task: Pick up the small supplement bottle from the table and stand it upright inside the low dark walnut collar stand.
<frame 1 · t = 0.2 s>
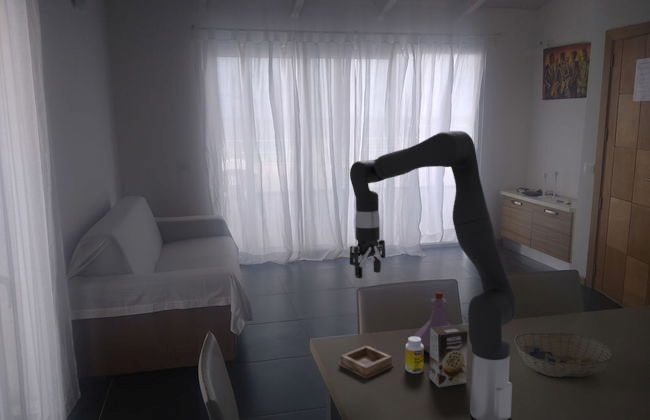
hand: (368, 275, 161), 28 cm above the table, tool pointing down, fingers open, 8 cm apart
coffee box: (447, 381, 151), on the table
flask: (438, 350, 172), on the table
supplement bottle: (414, 370, 158), on the table
walnut collar stand: (366, 365, 161), on the table
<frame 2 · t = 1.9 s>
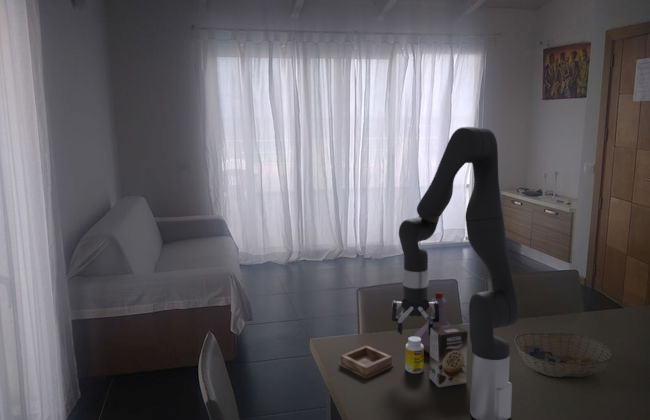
hand: (414, 333, 156), 12 cm above the table, tool pointing down, fingers open, 8 cm apart
nothing on the table moved.
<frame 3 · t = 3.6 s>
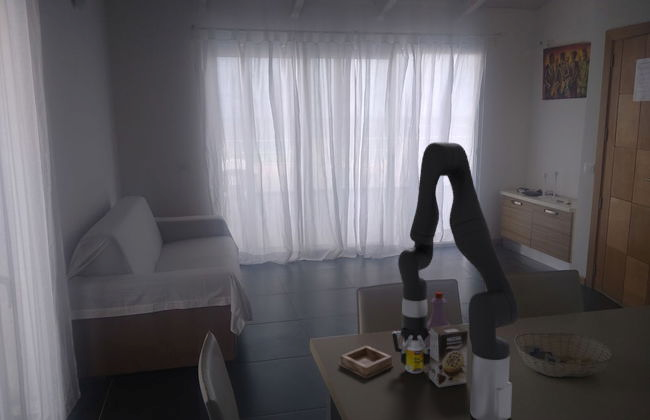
hand: (414, 363, 158), 2 cm above the table, tool pointing down, fingers closed on supplement bottle, 5 cm apart
supplement bottle: (414, 370, 158), on the table, touching gripper
everything else where it was.
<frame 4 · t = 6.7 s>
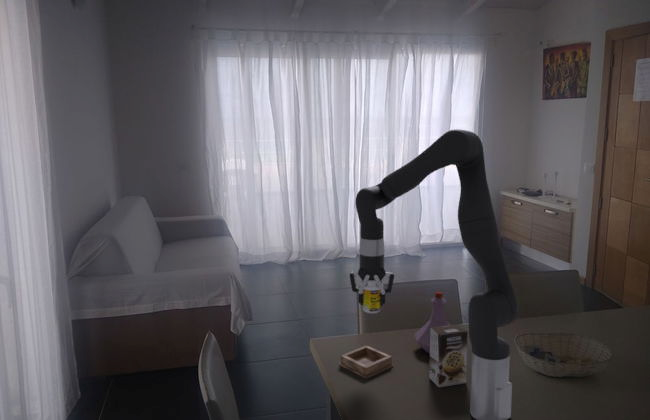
hand: (371, 304, 158), 20 cm above the table, tool pointing down, fingers closed on supplement bottle, 5 cm apart
supplement bottle: (371, 311, 159), point 18 cm above the table, touching gripper
everything else where it was.
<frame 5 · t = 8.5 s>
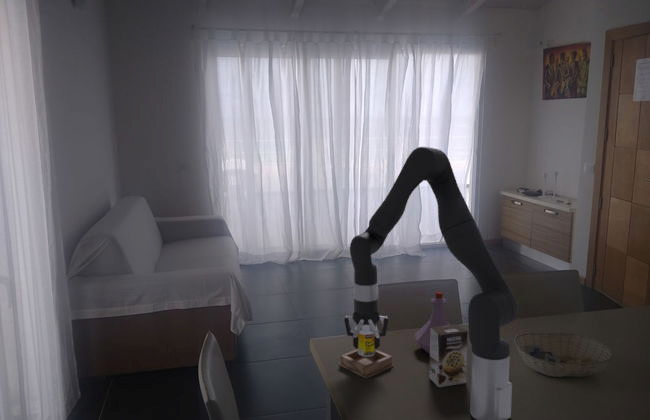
hand: (366, 347, 160), 6 cm above the table, tool pointing down, fingers closed on supplement bottle, 5 cm apart
supplement bottle: (366, 354, 161), point 4 cm above the table, touching gripper
everything else where it was.
when the fingers open (4 cm above the table, at t = 9.8 s): supplement bottle drops 1 cm, resting on walnut collar stand.
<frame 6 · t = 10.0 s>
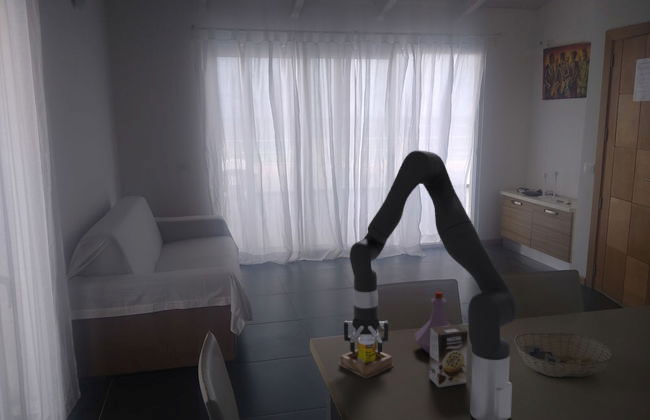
hand: (366, 352, 160), 4 cm above the table, tool pointing down, fingers open, 7 cm apart
supplement bottle: (366, 364, 161), point 1 cm above the table, touching walnut collar stand
everything else where it was.
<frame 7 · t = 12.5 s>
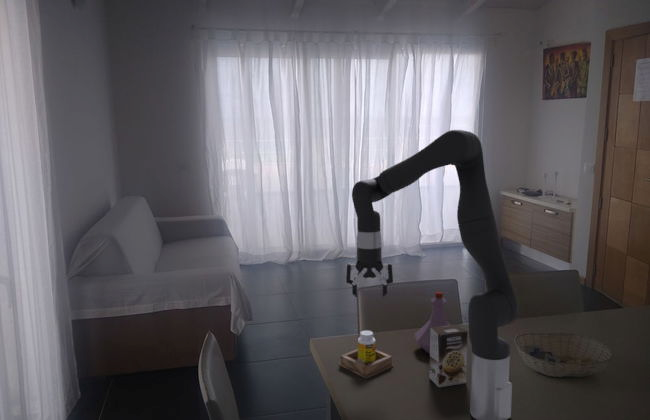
hand: (369, 296, 158), 23 cm above the table, tool pointing down, fingers open, 8 cm apart
nothing on the table moved.
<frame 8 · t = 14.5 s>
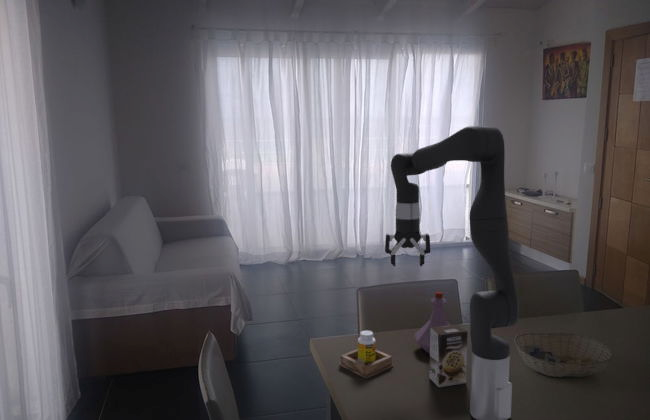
hand: (407, 265, 164), 30 cm above the table, tool pointing down, fingers open, 8 cm apart
nothing on the table moved.
at the end: supplement bottle 0.1 cm off-centre on the walnut collar stand, point 0.6 cm above the walnut collar stand's base; supplement bottle tilted 0°; the gripper is holding nothing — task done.
